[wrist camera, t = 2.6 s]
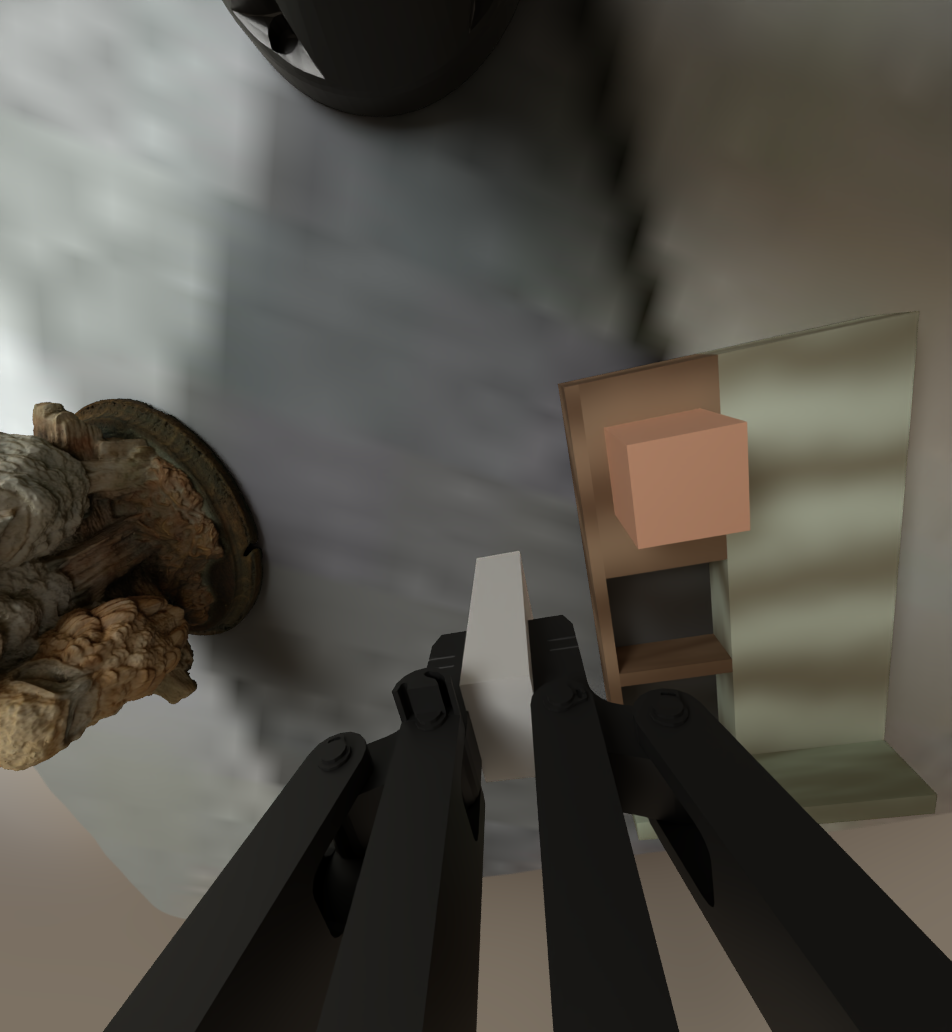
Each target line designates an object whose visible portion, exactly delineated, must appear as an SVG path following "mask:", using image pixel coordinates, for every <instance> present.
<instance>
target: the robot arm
mask: <svg viewBox="0 0 952 1032" xmlns="http://www.w3.org/2000/svg"><path fill="white" fill-rule="evenodd" d="M222 1H223V2H224V4H225V6H226V7H227V9H228V10H229V12H230V13H231V15H232V16H233V18H234V19H235V21H236V22H237V23H238V25H239V26H240V27H241V28H242V30H243V31H244V32H245V34H246V35H247V36H248V37H249V38H250V40H251V41H252V42H253V43H254V45H255V46H256V47H257V48H258V50H259V51H260V52H261V53H262V55H263V56H264V57H265V58H266V59H267V60H268V62H269V63H270V64H271V65H272V66H273V67H274V68H275V69H276V70H277V71H278V72H279V73H280V74H281V75H282V76H283V77H284V78H285V79H287V80H288V81H289V82H290V83H291V84H292V85H294V86H295V87H296V88H298V89H299V90H301V91H302V92H303V93H305V94H306V95H308V96H310V97H311V98H313V99H315V100H317V101H319V102H321V103H323V104H325V105H327V106H329V107H332V108H334V109H337V110H341V111H344V112H347V113H352V114H357V115H364V116H391V115H398V114H403V113H407V112H411V111H414V110H417V109H420V108H423V107H425V106H427V105H429V104H432V103H434V102H436V101H437V100H439V99H441V98H443V97H444V96H446V95H447V94H449V93H450V92H452V91H453V90H455V89H456V88H457V87H458V86H460V85H461V84H462V83H463V82H464V81H465V80H467V79H468V78H469V77H470V76H471V75H472V74H473V73H474V72H475V71H476V70H477V69H478V67H479V66H480V65H481V64H482V63H483V62H484V60H485V59H486V58H487V57H488V55H489V54H490V53H491V51H492V50H493V48H494V47H495V46H496V44H497V43H498V41H499V40H500V38H501V36H502V34H503V33H504V31H505V29H506V28H507V26H508V24H509V22H510V20H511V18H512V16H513V14H514V11H515V9H516V7H517V4H518V2H519V0H222ZM392 694H393V697H394V700H395V703H396V706H397V709H398V712H399V715H400V718H401V721H402V723H401V727H400V730H398V731H397V732H395V733H393V734H391V735H389V736H387V737H385V738H382V739H379V740H377V741H374V742H372V743H369V744H366V741H365V739H364V738H363V737H362V736H361V735H360V734H357V733H354V732H346V733H340V734H337V735H334V736H332V737H329V738H328V739H326V740H325V741H323V742H322V743H320V744H319V745H317V747H316V748H315V749H314V750H313V751H312V752H311V753H310V754H309V755H308V756H307V758H306V759H305V760H304V762H303V763H302V765H301V766H300V767H299V769H298V770H297V771H296V773H295V774H294V775H293V777H292V778H291V779H290V781H289V782H288V783H287V785H286V786H285V787H284V789H283V790H282V791H281V793H280V794H279V795H278V797H277V798H276V800H275V801H274V802H273V804H272V805H271V806H270V808H269V809H268V810H267V812H266V813H265V814H264V816H263V817H262V818H261V820H260V821H259V822H258V824H257V825H256V826H255V828H254V829H253V830H252V832H251V833H250V835H249V836H248V837H247V839H246V840H245V841H244V843H243V844H242V845H241V847H240V848H239V849H238V851H237V852H236V853H235V855H234V856H233V857H232V859H231V860H230V861H229V863H228V864H227V865H226V867H225V868H224V869H223V871H222V872H221V874H220V875H219V876H218V878H217V879H216V880H215V882H214V883H213V884H212V886H211V887H210V888H209V890H208V891H207V892H206V894H205V895H204V896H203V898H202V899H201V900H200V902H199V903H198V904H197V906H196V907H195V909H194V910H193V911H192V913H191V914H190V915H189V917H188V918H187V919H186V921H185V922H184V923H183V925H182V926H181V928H180V929H179V930H178V931H177V933H176V934H175V935H174V937H173V938H172V940H171V941H170V942H169V944H168V945H167V946H166V948H165V949H164V950H163V952H162V953H161V954H160V956H159V957H158V958H157V960H156V961H155V962H154V964H153V965H152V966H151V968H150V969H149V970H148V972H147V973H146V974H145V976H144V977H143V979H142V980H141V981H140V983H139V984H138V985H137V987H136V988H135V989H134V991H133V992H132V993H131V995H130V996H129V997H128V999H127V1000H126V1001H125V1003H124V1004H123V1006H122V1007H121V1008H120V1009H119V1011H118V1012H117V1014H116V1015H115V1016H114V1018H113V1019H112V1020H111V1022H110V1023H109V1024H108V1026H107V1027H106V1028H105V1030H104V1031H103V1032H476V1025H477V1000H478V974H479V950H480V924H481V923H480V922H481V899H482V898H481V897H482V874H483V848H484V823H485V800H484V795H483V791H482V787H481V769H482V770H483V774H484V777H485V781H486V782H493V781H502V780H510V779H519V778H528V777H535V778H536V792H537V806H538V820H539V834H540V848H541V862H542V876H543V889H544V903H545V918H546V932H547V946H548V960H549V975H550V988H551V1003H552V1017H553V1031H554V1032H679V1029H678V1026H677V1021H676V1018H675V1014H674V1010H673V1006H672V1002H671V998H670V995H669V991H668V987H667V983H666V979H665V975H664V971H663V967H662V963H661V960H660V955H659V952H658V948H657V944H656V940H655V936H654V932H653V928H652V924H651V921H650V916H649V913H648V909H647V905H646V901H645V897H644V893H643V889H642V885H641V881H640V878H639V874H638V870H637V866H636V862H635V858H634V854H633V850H632V846H631V843H630V839H629V835H628V831H627V827H626V823H625V819H624V815H623V812H624V813H628V814H633V815H638V816H643V817H647V818H648V819H649V822H650V824H651V826H652V828H653V829H654V831H655V833H656V835H657V836H658V838H659V840H660V841H661V843H662V845H663V847H664V848H665V850H666V852H667V853H668V855H669V857H670V858H671V860H672V862H673V863H674V865H675V867H676V869H677V870H678V872H679V874H680V875H681V877H682V879H683V880H684V882H685V884H686V886H687V887H688V889H689V890H690V892H691V894H692V896H693V898H694V899H695V901H696V902H697V904H698V906H699V908H700V909H701V911H702V913H703V915H704V916H705V918H706V920H707V921H708V923H709V925H710V927H711V928H712V930H713V932H714V933H715V935H716V937H717V938H718V940H719V942H720V943H721V945H722V947H723V948H724V950H725V952H726V954H727V955H728V957H729V959H730V960H731V962H732V964H733V966H734V967H735V969H736V971H737V972H738V974H739V976H740V978H741V979H742V981H743V983H744V984H745V986H746V988H747V989H748V991H749V993H750V995H751V996H752V998H753V1000H754V1001H755V1003H756V1005H757V1006H758V1008H759V1010H760V1012H761V1013H762V1015H763V1017H764V1018H765V1020H766V1022H767V1023H768V1025H769V1027H770V1029H771V1030H772V1032H952V961H951V960H950V959H949V958H948V957H947V956H946V955H945V954H944V953H943V952H942V951H941V950H940V949H939V948H938V947H937V946H936V945H935V944H934V943H933V942H932V941H931V940H930V939H929V938H928V937H927V936H926V935H925V934H924V932H922V930H921V929H920V928H919V927H918V926H917V925H916V924H915V923H914V922H913V921H912V920H911V919H910V918H909V917H908V916H907V915H906V914H905V913H904V912H903V911H902V910H901V909H900V908H899V907H898V906H897V905H896V904H895V903H894V902H893V900H892V899H891V898H890V897H889V896H888V895H887V894H886V893H885V892H884V891H883V890H882V889H881V888H880V887H879V886H878V885H877V884H876V883H875V882H874V881H873V880H872V879H871V878H870V877H869V876H868V875H867V874H866V873H865V872H864V871H863V869H862V868H861V867H860V866H859V865H858V864H857V863H856V862H855V861H854V860H853V859H852V858H851V857H850V856H849V855H848V854H847V853H846V852H845V851H844V850H843V849H842V848H841V847H840V846H839V845H838V844H837V843H836V842H835V841H834V840H833V839H832V837H831V836H830V835H828V833H827V832H826V831H825V830H824V829H823V828H822V827H821V826H820V825H819V824H818V823H817V822H816V821H815V820H814V819H813V818H812V817H811V816H810V815H809V814H808V813H807V812H806V811H805V810H804V809H803V808H802V807H801V805H800V804H799V803H798V802H797V801H796V800H795V799H794V798H793V797H792V796H791V795H790V794H789V793H788V792H787V791H786V790H785V789H784V788H783V787H782V786H781V785H780V784H779V783H778V782H777V781H776V780H775V779H774V778H773V777H772V776H771V775H770V773H769V772H768V771H767V770H766V769H765V768H764V767H763V766H762V765H761V764H760V763H759V762H758V761H757V760H756V759H755V758H754V757H753V756H752V755H751V754H750V753H749V752H748V751H747V750H746V749H745V748H744V747H743V746H742V745H741V744H740V743H739V741H738V740H737V739H736V738H735V737H734V736H733V735H732V734H731V733H730V732H729V731H728V730H727V729H726V728H725V727H724V726H723V725H722V724H721V723H720V722H719V721H718V720H717V719H716V718H715V717H714V716H713V715H712V714H711V713H710V712H709V711H708V709H707V708H706V707H705V706H704V705H703V704H702V703H701V702H700V701H698V700H697V699H695V698H694V697H693V696H691V695H690V694H688V693H685V692H682V691H679V690H676V689H665V688H662V689H655V690H650V691H648V692H646V693H644V694H642V695H640V696H639V697H638V699H637V700H636V701H635V702H634V705H633V706H630V705H622V704H616V703H611V702H609V701H606V700H604V699H602V698H600V697H599V696H597V695H596V694H595V693H594V692H593V691H592V690H591V689H590V687H589V685H588V682H587V678H586V675H585V671H584V667H583V663H582V659H581V655H580V651H579V647H578V643H577V639H576V636H575V632H574V628H573V624H572V623H571V622H570V621H569V620H568V619H567V618H566V617H564V616H563V615H558V616H552V617H545V618H539V619H533V615H532V610H531V605H530V600H529V595H528V590H527V585H526V580H525V575H524V570H523V565H522V560H521V555H520V551H515V552H510V553H504V554H498V555H493V556H487V557H481V558H477V560H476V568H475V575H474V582H473V589H472V597H471V604H470V611H469V619H468V626H467V631H464V632H458V633H451V634H445V635H441V637H440V638H439V639H438V640H437V641H436V643H435V644H434V645H433V646H432V650H431V654H430V658H429V662H428V666H427V668H424V669H420V670H416V671H414V672H412V673H410V674H408V675H406V676H405V677H403V678H402V679H401V680H400V681H399V682H398V683H397V684H396V685H395V687H394V689H393V691H392Z"/></svg>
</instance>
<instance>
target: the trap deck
mask: <svg viewBox="0 0 952 1032" xmlns="http://www.w3.org/2000/svg"><path fill="white" fill-rule="evenodd" d="M918 321H919V311H914V312H904V313H894V314H884V315H874V316H869V317H864V318H859V319H855V320H850V321H846V322H841V323H836V324H832V325H827V326H823V327H818V328H813V329H809V330H804V331H800V332H795V333H790V334H786V335H781V336H777V337H772V338H767V339H763V340H758V341H754V342H749V343H744V344H740V345H735V346H731V347H726V348H721V349H717V350H712V351H708V352H703V353H698V354H694V355H689V356H684V357H680V358H675V359H671V360H666V361H661V362H657V363H652V364H648V365H643V366H638V367H634V368H629V369H625V370H620V371H615V372H611V373H606V374H602V375H597V376H592V377H588V378H583V379H579V380H574V381H569V382H565V383H560V384H558V387H559V394H560V400H561V407H562V413H563V420H564V426H565V433H566V439H567V445H568V452H569V458H570V465H571V471H572V478H573V484H574V491H575V497H576V504H577V510H578V517H579V523H580V530H581V536H582V543H583V549H584V556H585V562H586V569H587V575H588V581H589V588H590V594H591V601H592V607H593V614H594V620H595V627H596V633H597V640H598V646H599V653H600V659H601V666H602V672H603V679H604V685H605V692H606V698H607V701H609V702H611V703H616V704H622V705H630V706H633V705H634V702H635V701H636V700H637V699H638V697H639V696H640V695H642V694H644V693H646V692H648V691H650V690H655V689H662V688H665V689H676V690H679V691H682V692H685V693H688V694H690V695H691V696H693V697H694V698H695V699H697V700H698V701H700V702H701V703H702V704H703V705H704V706H705V707H706V708H707V709H708V711H709V712H710V713H711V714H712V715H713V716H714V717H715V718H716V719H717V720H718V721H719V722H720V723H721V724H722V725H723V726H724V727H725V728H726V729H727V730H728V731H729V732H730V733H731V734H732V735H733V736H734V737H735V738H736V739H737V740H738V741H739V743H740V744H741V745H742V746H743V747H744V748H745V749H746V750H747V751H748V752H749V753H750V754H751V755H752V756H753V757H754V758H755V759H756V760H757V761H758V762H759V763H760V764H761V765H762V766H763V767H764V768H765V769H766V770H767V771H768V772H769V773H770V775H771V776H772V777H773V778H774V779H775V780H776V781H777V782H778V783H779V784H780V785H781V786H782V787H783V788H784V789H785V790H786V791H787V792H788V793H789V794H790V795H791V796H792V797H793V798H794V799H795V800H796V801H797V802H798V803H799V804H800V805H801V807H802V808H803V809H804V810H805V811H806V812H807V813H808V814H809V815H810V816H811V817H812V818H813V819H814V820H815V821H816V822H817V823H818V824H823V823H834V822H845V821H856V820H867V819H878V818H889V817H900V816H911V815H922V814H933V813H935V807H936V800H937V794H936V793H935V792H934V791H933V790H932V789H931V788H930V787H929V786H928V785H927V784H926V783H925V781H924V780H923V779H922V778H921V777H920V776H919V775H918V774H917V773H916V772H915V771H914V770H913V769H912V768H911V767H910V766H909V765H908V764H907V763H906V762H905V761H904V760H903V759H902V758H901V757H900V756H899V755H898V754H897V753H896V752H895V751H894V750H893V749H892V748H891V747H890V746H889V745H888V744H887V743H886V741H885V740H884V733H885V721H886V709H887V697H888V685H889V673H890V660H891V648H892V636H893V624H894V612H895V600H896V588H897V576H898V563H899V551H900V539H901V527H902V515H903V503H904V491H905V478H906V466H907V454H908V442H909V430H910V418H911V406H912V393H913V381H914V369H915V357H916V345H917V333H918ZM699 408H701V409H705V410H708V411H712V412H715V413H719V414H722V415H725V416H729V417H732V418H736V419H739V420H743V421H746V422H747V433H748V468H749V502H750V531H744V532H738V533H732V534H726V535H720V536H714V537H708V538H702V539H696V540H690V541H684V542H678V543H672V544H666V545H661V546H655V547H649V548H643V549H638V548H637V546H636V545H635V543H634V542H633V540H632V539H631V537H630V536H629V535H628V533H627V532H626V530H625V529H624V527H623V526H622V524H621V523H620V521H619V520H618V518H617V517H616V515H615V512H614V504H613V496H612V488H611V481H610V473H609V465H608V457H607V449H606V441H605V434H604V428H605V427H610V426H615V425H620V424H625V423H630V422H635V421H640V420H645V419H650V418H655V417H660V416H665V415H669V414H674V413H679V412H684V411H689V410H694V409H699ZM632 816H633V820H634V823H635V827H636V831H637V834H638V838H639V840H647V839H658V836H657V835H656V833H655V831H654V829H653V828H652V826H651V824H650V822H649V819H648V818H647V817H643V816H638V815H633V814H632Z"/></svg>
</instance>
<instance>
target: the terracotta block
mask: <svg viewBox="0 0 952 1032" xmlns="http://www.w3.org/2000/svg"><path fill="white" fill-rule="evenodd" d="M604 434H605V441H606V449H607V457H608V465H609V473H610V481H611V488H612V496H613V504H614V512H615V515H616V517H617V518H618V520H619V521H620V523H621V524H622V526H623V527H624V529H625V530H626V532H627V533H628V535H629V536H630V537H631V539H632V540H633V542H634V543H635V545H636V546H637V548H638V549H643V548H649V547H655V546H661V545H666V544H672V543H678V542H684V541H690V540H696V539H702V538H708V537H714V536H720V535H726V534H732V533H738V532H744V531H750V502H749V468H748V433H747V422H746V421H743V420H739V419H736V418H732V417H729V416H725V415H722V414H719V413H715V412H712V411H708V410H705V409H701V408H699V409H694V410H689V411H684V412H679V413H674V414H669V415H665V416H660V417H655V418H650V419H645V420H640V421H635V422H630V423H625V424H620V425H615V426H610V427H605V428H604Z"/></svg>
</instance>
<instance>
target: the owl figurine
mask: <svg viewBox="0 0 952 1032" xmlns="http://www.w3.org/2000/svg"><path fill="white" fill-rule="evenodd" d="M148 406H149V405H148V404H147V403H144V402H140V401H138V400H136V401H135V400H132V399H107V400H100V401H98V402H94V403H92V404H89V405H87V406H85V407H83V408H82V409H80V410H79V411H78V412H77V413H75V414H74V413H72V412H69V411H67V410H65V409H64V408H63V407H64V406H62V404H58V403H51V402H45V403H40V404H35V405H34V409H33V425H34V430H33V432H34V436H33V435H32V436H29V435H28V436H26V435H18V434H6V433H3V432H0V767H3V768H4V769H8V770H14V771H19V770H25V769H27V768H29V767H31V766H35V765H37V764H39V763H41V762H43V761H45V760H48V759H49V758H51V757H53V756H54V755H55V754H57V753H58V752H59V751H61V750H63V749H65V748H67V747H68V746H69V744H70V743H71V742H72V741H74V740H77V739H79V738H80V737H81V736H82V734H83V732H84V731H85V729H86V728H87V727H89V726H91V725H95V724H96V723H97V722H98V721H99V720H100V719H103V718H107V717H109V716H112V715H115V714H117V712H118V711H119V710H120V709H121V708H122V706H123V705H124V704H125V703H127V701H131V700H132V701H134V700H137V699H140V698H143V697H145V696H150V695H152V694H157V695H159V696H162V697H163V698H164V699H166V700H167V701H169V703H171V704H176V703H178V702H179V701H180V700H181V699H182V698H186V697H188V696H189V695H191V693H193V692H194V691H195V690H196V689H197V683H196V682H195V680H192V679H191V678H190V676H189V674H190V673H188V672H187V671H188V670H190V669H191V666H192V663H193V661H194V660H193V656H194V654H193V650H191V645H190V644H189V643H188V640H187V639H188V634H192V635H215V634H219V633H223V632H225V631H228V630H230V629H232V628H233V627H235V626H236V625H237V624H238V623H239V622H240V621H241V620H243V618H244V617H245V616H246V615H247V614H248V613H249V611H250V610H251V608H252V607H253V605H254V604H255V602H256V600H257V597H258V595H259V593H260V589H261V585H262V577H263V569H262V564H261V561H262V552H261V549H258V548H257V549H254V550H252V551H251V552H250V553H249V555H248V556H247V557H244V556H243V554H244V551H245V550H246V548H247V547H248V545H249V544H250V543H252V544H255V543H256V542H257V541H258V536H257V529H256V525H255V523H254V520H253V518H252V516H251V513H250V510H249V508H248V506H247V505H246V503H245V501H244V498H243V497H242V495H241V493H240V491H239V489H238V487H237V485H236V484H235V482H234V480H233V478H232V477H231V475H230V474H229V473H228V471H227V470H226V469H225V468H224V466H223V465H222V463H221V462H220V461H219V460H218V458H217V457H216V456H215V455H214V453H213V452H212V451H211V450H210V449H209V448H208V447H207V446H206V444H205V443H204V442H203V441H202V440H201V439H200V438H198V437H197V435H196V434H194V432H192V431H191V430H189V429H188V428H187V427H186V426H184V425H183V424H181V423H180V422H179V421H178V420H177V419H176V418H174V417H172V416H173V415H169V414H168V415H166V414H165V413H163V412H160V411H158V410H155V409H151V408H149V407H148ZM169 598H170V600H171V602H170V601H169ZM170 603H171V604H170Z"/></svg>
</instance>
